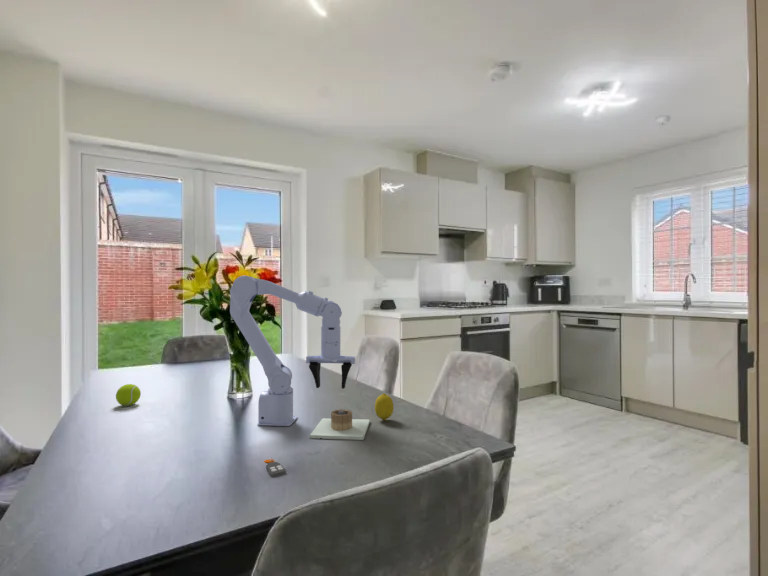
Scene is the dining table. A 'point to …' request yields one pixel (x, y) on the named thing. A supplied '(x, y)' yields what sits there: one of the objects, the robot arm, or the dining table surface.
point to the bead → (341, 420)
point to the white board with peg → (354, 433)
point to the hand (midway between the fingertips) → (330, 387)
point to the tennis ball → (128, 395)
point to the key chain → (274, 468)
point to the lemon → (384, 407)
